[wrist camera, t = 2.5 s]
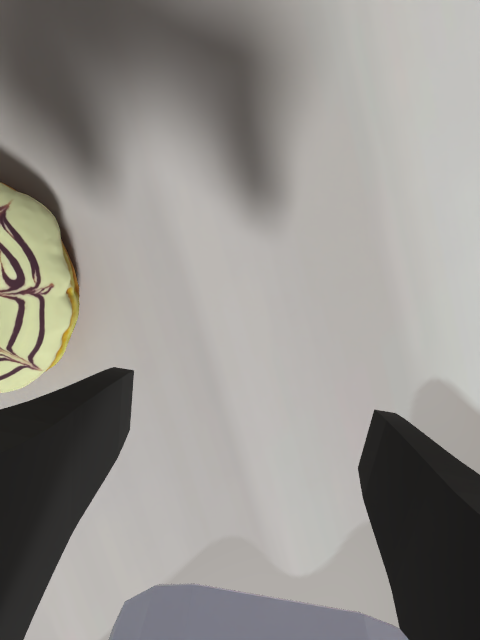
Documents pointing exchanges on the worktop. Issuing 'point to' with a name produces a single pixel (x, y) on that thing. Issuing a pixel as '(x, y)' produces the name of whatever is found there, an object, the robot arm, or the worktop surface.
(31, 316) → the decorated donut
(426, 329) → the worktop surface
